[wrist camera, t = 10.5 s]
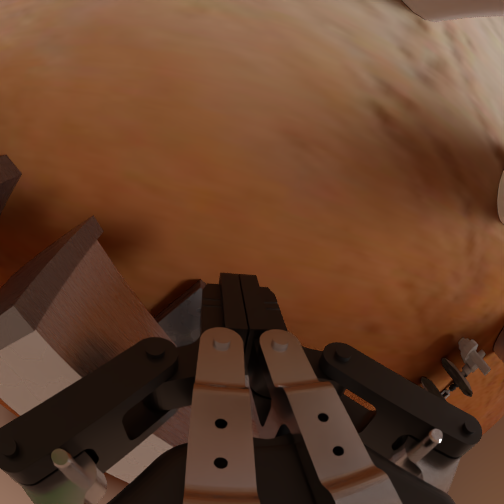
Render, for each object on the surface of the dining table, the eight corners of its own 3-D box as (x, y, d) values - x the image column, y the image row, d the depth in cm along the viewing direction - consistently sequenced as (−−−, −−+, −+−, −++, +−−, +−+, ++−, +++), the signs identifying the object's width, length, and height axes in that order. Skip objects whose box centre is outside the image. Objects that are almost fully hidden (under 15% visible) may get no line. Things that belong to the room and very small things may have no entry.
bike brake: (384, 399, 28) (419, 406, 39) (411, 442, 23) (437, 433, 33) (468, 320, 25) (475, 354, 36) (502, 358, 20) (496, 379, 30)
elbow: (277, 426, 19) (295, 496, 13) (187, 450, 19) (191, 514, 14) (110, 204, 10) (32, 292, 5) (5, 280, 11) (-55, 360, 5)
